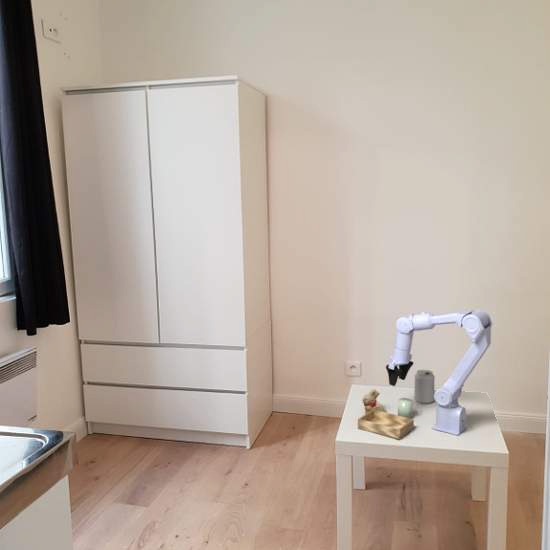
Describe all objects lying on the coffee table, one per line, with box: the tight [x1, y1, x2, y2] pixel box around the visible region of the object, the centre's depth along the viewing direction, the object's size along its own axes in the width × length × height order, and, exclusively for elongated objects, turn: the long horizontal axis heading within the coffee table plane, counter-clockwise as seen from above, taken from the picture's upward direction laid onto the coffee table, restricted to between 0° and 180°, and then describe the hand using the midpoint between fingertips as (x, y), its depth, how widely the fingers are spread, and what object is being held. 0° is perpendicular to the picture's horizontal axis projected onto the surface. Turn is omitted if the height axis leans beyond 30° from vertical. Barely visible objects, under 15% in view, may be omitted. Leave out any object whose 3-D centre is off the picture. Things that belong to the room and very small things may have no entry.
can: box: [413, 369, 436, 405], centre depth 230 cm, size 8×8×12 cm
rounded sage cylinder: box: [397, 397, 413, 419], centre depth 215 cm, size 5×5×6 cm
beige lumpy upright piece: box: [362, 388, 387, 415], centre depth 219 cm, size 6×8×10 cm
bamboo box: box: [357, 409, 415, 441], centre depth 205 cm, size 16×11×4 cm
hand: (397, 382), depth 215 cm, fingers open, 7 cm apart
